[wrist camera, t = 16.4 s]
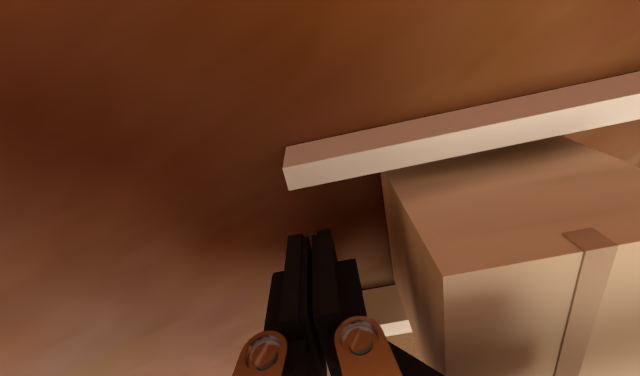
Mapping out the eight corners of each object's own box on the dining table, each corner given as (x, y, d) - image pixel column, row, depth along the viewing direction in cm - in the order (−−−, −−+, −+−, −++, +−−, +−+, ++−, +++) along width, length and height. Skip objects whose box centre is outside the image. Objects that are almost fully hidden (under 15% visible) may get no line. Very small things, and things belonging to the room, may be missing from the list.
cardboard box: (378, 161, 11) (443, 276, 6) (542, 126, 11) (771, 217, 6) (394, 280, 14) (448, 433, 9) (525, 256, 14) (667, 400, 8)
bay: (286, 146, 11) (279, 182, 8) (914, 12, 10) (1142, 4, 7) (330, 308, 15) (335, 368, 12) (785, 227, 14) (901, 273, 11)
